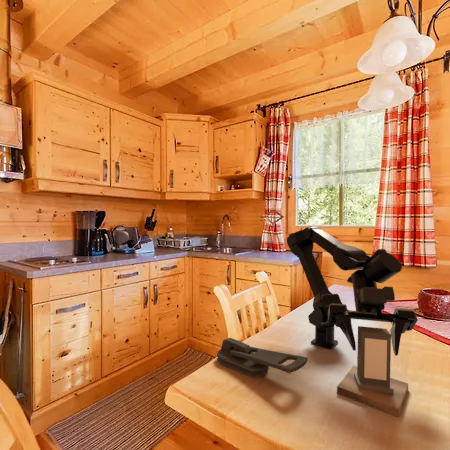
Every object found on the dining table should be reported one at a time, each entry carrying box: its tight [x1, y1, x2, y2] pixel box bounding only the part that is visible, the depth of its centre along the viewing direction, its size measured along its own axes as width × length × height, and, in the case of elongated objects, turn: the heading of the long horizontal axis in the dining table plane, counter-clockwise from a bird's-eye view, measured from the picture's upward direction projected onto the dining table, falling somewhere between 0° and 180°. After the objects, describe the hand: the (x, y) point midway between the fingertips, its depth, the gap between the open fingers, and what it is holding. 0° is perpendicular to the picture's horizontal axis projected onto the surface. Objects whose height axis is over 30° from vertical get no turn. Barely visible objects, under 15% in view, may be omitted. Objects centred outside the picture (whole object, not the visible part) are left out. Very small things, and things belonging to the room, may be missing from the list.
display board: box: [336, 365, 409, 418], centre depth 65 cm, size 12×12×2 cm
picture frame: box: [354, 325, 394, 394], centre depth 65 cm, size 5×7×12 cm
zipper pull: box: [216, 337, 309, 379], centre depth 73 cm, size 9×7×25 cm
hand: (375, 352), depth 63 cm, fingers open, 8 cm apart
